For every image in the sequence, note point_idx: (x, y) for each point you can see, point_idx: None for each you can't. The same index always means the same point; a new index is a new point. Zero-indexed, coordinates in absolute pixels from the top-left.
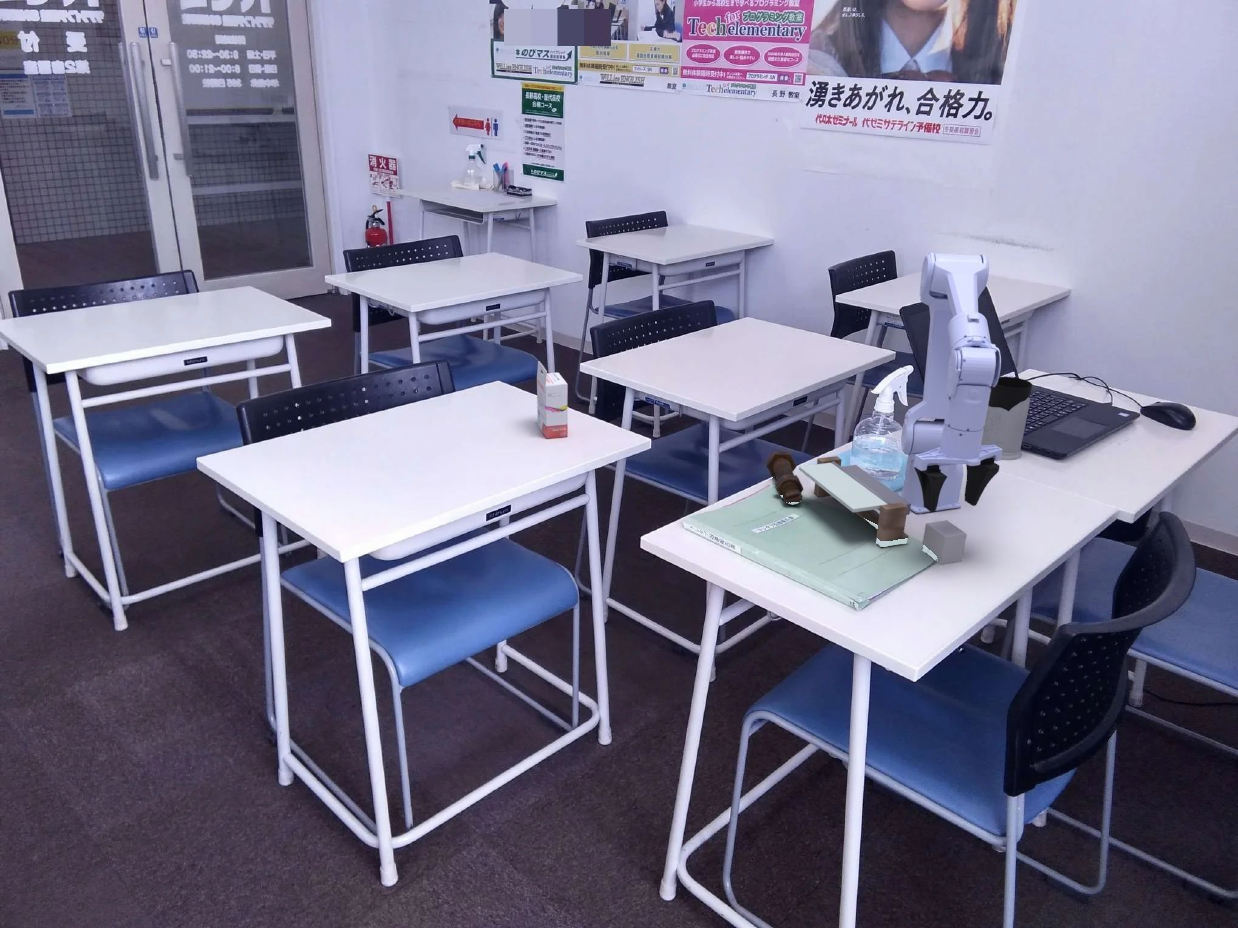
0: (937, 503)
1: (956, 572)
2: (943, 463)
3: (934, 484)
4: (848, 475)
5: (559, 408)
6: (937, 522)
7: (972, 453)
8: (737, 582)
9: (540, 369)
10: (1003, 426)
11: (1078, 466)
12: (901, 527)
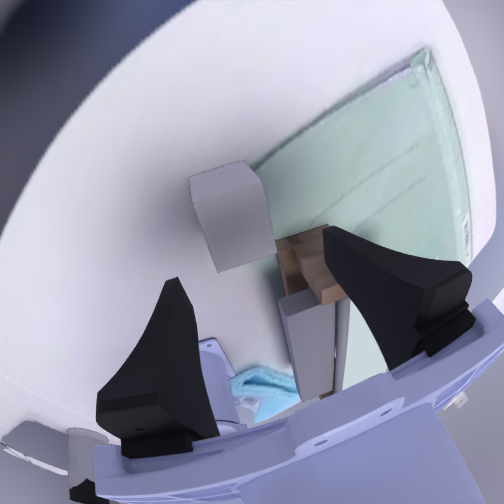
0: (339, 238)
1: (220, 127)
2: (458, 350)
3: (432, 259)
4: (344, 372)
5: None
6: (246, 259)
7: (364, 474)
8: (490, 150)
9: (459, 403)
10: (87, 462)
11: (18, 413)
12: (307, 257)
